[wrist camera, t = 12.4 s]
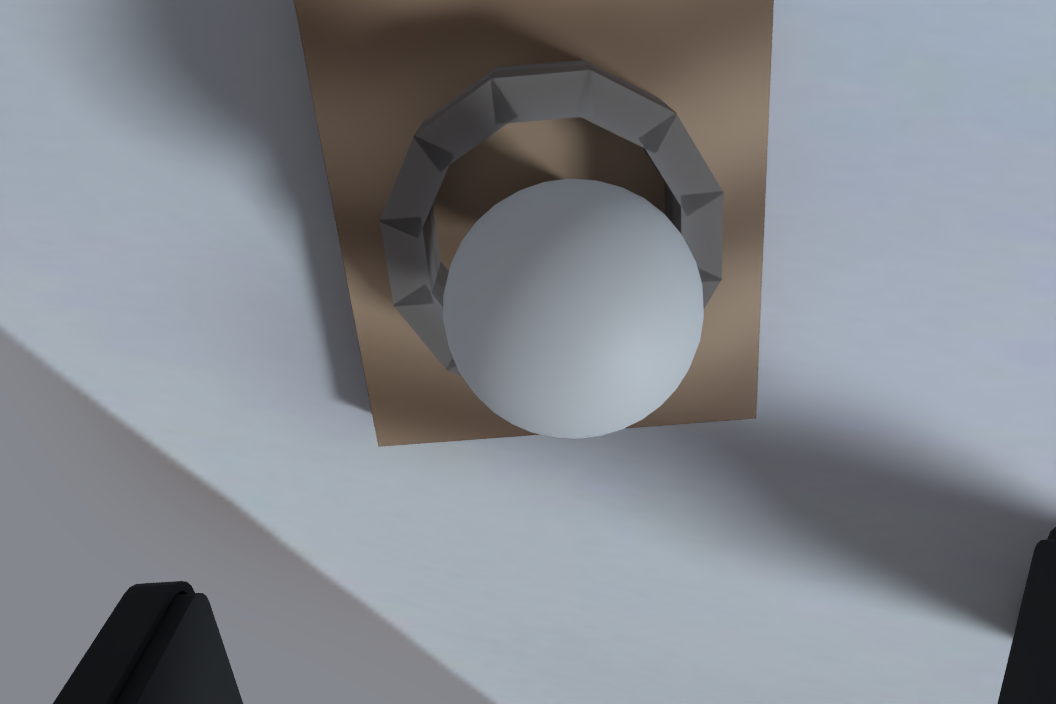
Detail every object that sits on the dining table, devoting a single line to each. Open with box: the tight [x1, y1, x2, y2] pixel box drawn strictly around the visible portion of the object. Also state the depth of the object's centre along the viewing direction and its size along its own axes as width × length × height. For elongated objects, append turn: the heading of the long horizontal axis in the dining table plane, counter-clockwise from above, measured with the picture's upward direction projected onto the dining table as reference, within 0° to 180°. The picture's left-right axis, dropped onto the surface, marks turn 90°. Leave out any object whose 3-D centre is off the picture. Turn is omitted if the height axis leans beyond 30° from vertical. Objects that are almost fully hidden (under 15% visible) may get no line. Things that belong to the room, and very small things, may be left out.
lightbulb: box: [443, 179, 704, 439], centre depth 21 cm, size 6×6×11 cm
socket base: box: [294, 0, 774, 447], centre depth 26 cm, size 16×14×5 cm
